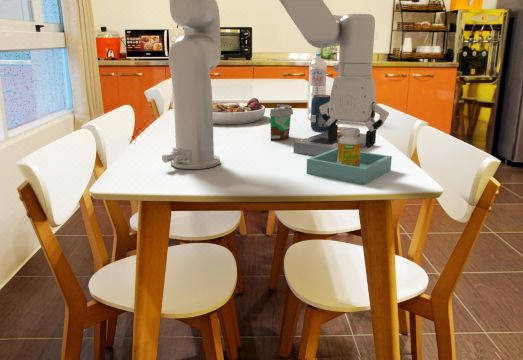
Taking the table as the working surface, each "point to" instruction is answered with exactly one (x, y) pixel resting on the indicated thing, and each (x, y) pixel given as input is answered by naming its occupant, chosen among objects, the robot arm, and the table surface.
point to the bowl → (237, 112)
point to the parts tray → (349, 167)
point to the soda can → (318, 113)
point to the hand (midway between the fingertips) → (350, 144)
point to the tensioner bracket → (321, 143)
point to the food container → (280, 122)
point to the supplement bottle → (349, 147)
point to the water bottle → (316, 80)
